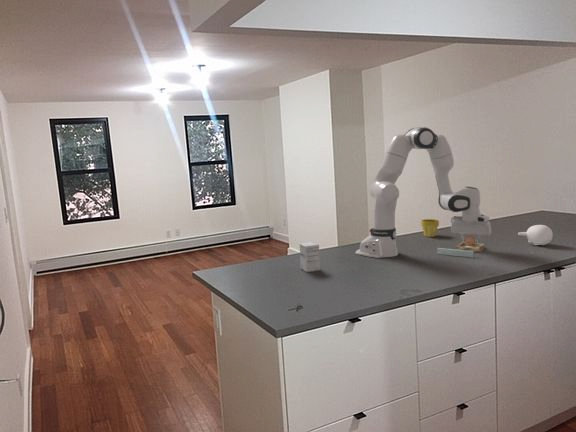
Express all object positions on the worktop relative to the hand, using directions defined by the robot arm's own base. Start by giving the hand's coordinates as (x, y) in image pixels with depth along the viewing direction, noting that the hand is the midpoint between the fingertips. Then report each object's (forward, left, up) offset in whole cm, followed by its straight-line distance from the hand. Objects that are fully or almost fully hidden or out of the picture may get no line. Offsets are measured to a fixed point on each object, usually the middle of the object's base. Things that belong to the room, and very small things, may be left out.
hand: (470, 242), depth 256 cm
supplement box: (-55, -73, -4) cm, 91 cm away
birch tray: (0, 0, -4) cm, 4 cm away
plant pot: (-31, +25, -4) cm, 40 cm away
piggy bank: (+28, +26, -4) cm, 38 cm away
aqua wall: (-3, -17, -4) cm, 18 cm away
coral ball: (0, 0, +1) cm, 1 cm away
